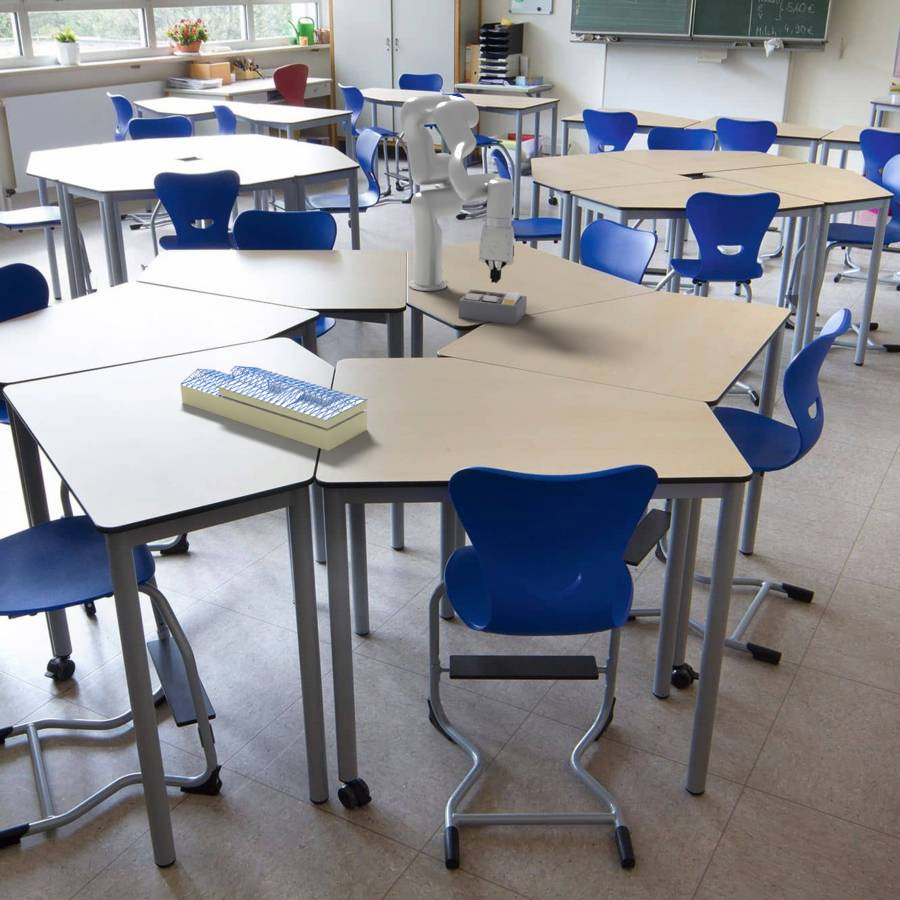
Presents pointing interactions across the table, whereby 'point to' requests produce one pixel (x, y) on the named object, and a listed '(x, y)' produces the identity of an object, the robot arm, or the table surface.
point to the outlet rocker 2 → (491, 298)
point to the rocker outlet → (511, 298)
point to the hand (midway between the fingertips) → (495, 281)
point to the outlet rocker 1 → (474, 296)
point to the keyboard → (279, 405)
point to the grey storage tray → (492, 309)
